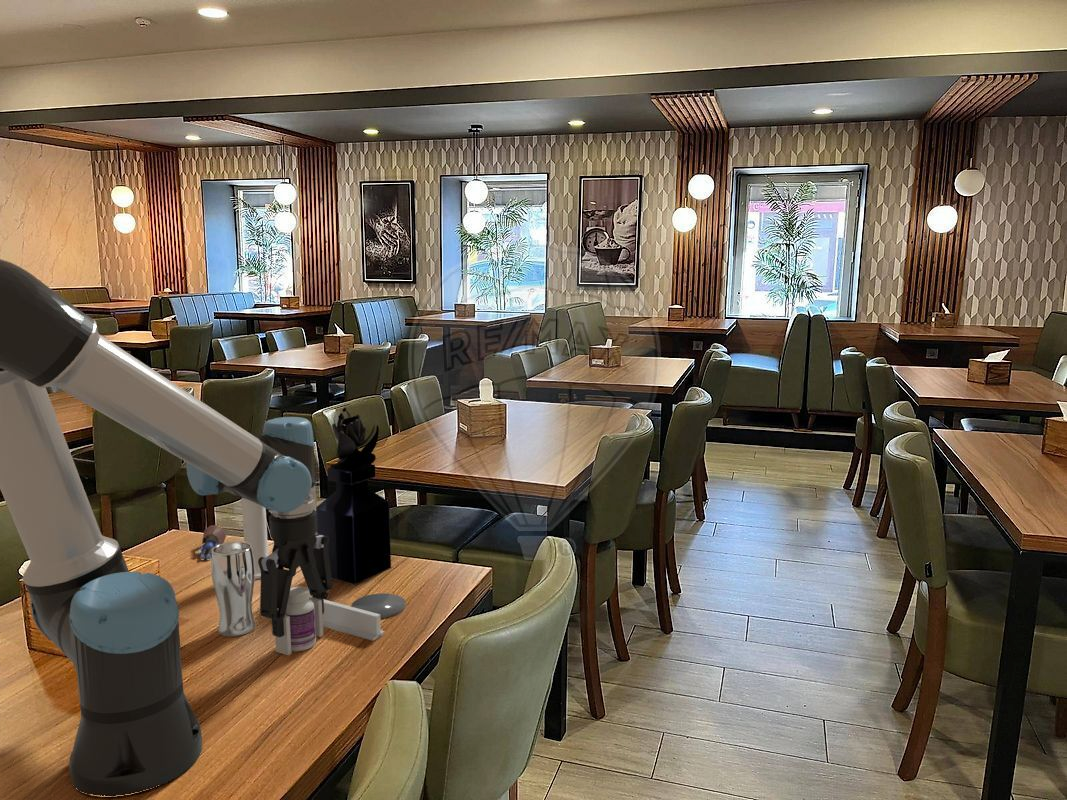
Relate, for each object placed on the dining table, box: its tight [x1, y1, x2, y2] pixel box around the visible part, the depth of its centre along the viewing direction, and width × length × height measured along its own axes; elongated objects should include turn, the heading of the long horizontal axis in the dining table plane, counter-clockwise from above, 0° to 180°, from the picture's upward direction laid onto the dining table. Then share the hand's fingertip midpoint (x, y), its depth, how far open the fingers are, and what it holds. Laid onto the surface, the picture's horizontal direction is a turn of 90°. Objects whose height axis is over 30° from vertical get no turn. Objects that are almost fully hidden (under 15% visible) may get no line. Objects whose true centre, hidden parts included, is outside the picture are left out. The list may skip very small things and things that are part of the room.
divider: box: [310, 595, 386, 642], centre depth 137 cm, size 3×18×4 cm, turn 62°
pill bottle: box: [285, 586, 317, 652], centre depth 130 cm, size 5×5×10 cm
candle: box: [241, 497, 269, 580], centre depth 160 cm, size 7×7×25 cm
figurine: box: [194, 524, 227, 560], centre depth 174 cm, size 6×5×12 cm
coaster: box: [350, 592, 407, 620], centre depth 146 cm, size 10×10×1 cm
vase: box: [315, 407, 392, 586], centre depth 162 cm, size 14×12×35 cm
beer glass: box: [210, 540, 256, 638], centre depth 135 cm, size 7×7×15 cm
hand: (300, 643), depth 131 cm, fingers open, 7 cm apart
